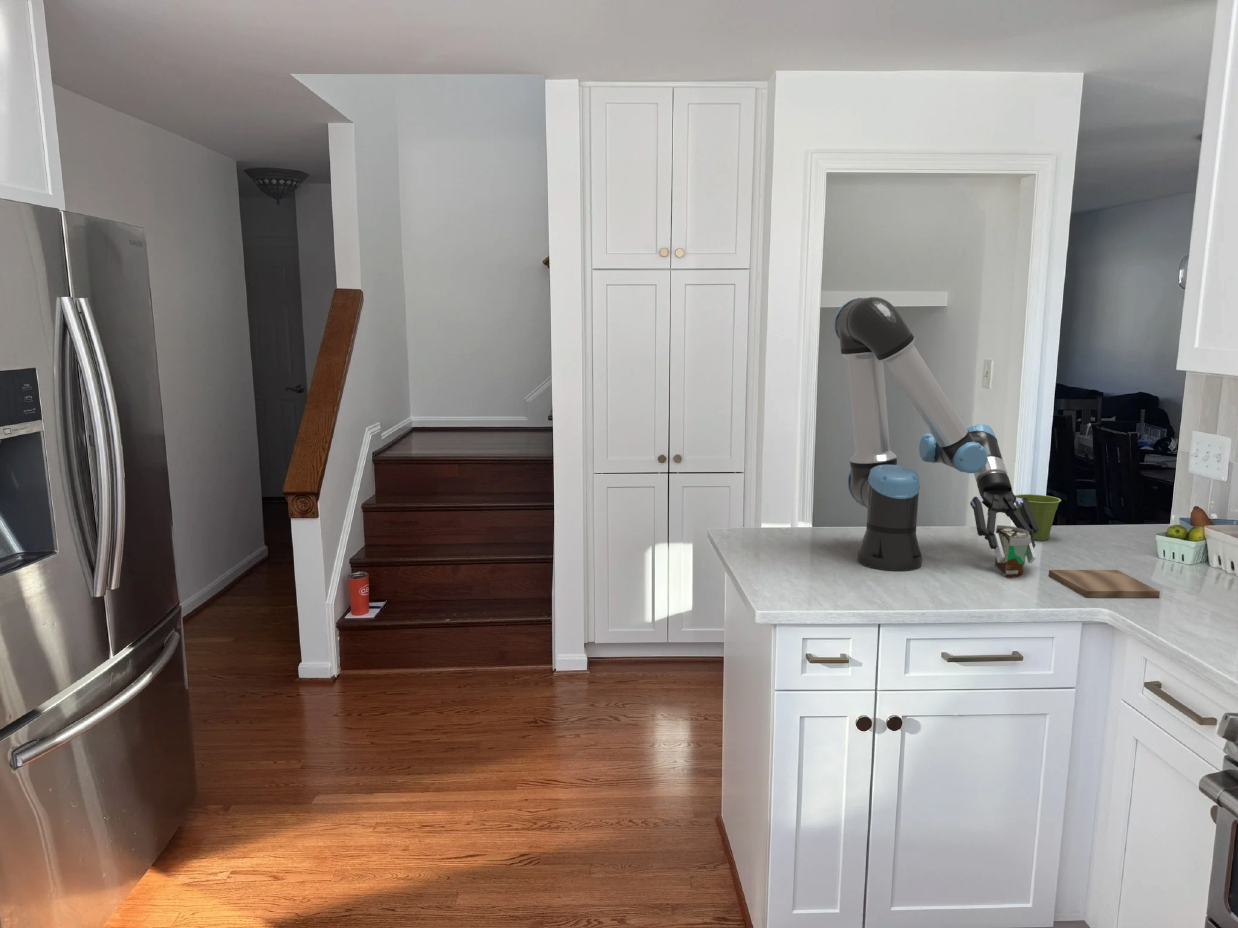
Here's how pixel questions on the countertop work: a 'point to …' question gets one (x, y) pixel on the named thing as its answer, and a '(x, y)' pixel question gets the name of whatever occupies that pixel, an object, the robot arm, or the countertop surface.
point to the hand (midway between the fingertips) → (1016, 559)
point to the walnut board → (1103, 584)
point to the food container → (1012, 550)
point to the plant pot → (1041, 512)
